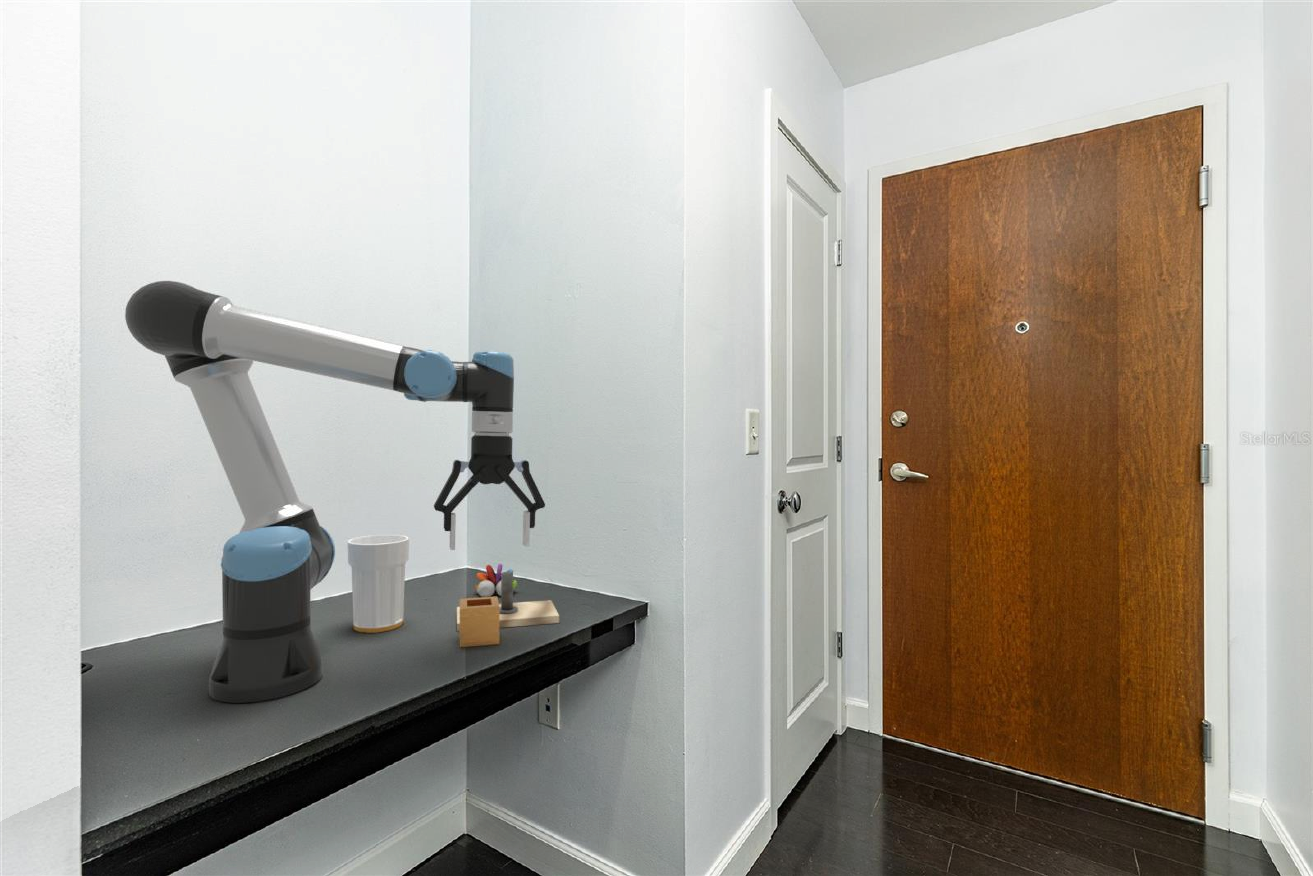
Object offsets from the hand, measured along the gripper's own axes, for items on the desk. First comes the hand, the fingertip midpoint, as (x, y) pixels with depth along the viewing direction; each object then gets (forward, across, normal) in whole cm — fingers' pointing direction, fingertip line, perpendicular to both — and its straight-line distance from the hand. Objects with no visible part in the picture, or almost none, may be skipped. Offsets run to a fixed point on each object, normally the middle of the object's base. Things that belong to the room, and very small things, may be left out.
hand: (489, 547), depth 121 cm
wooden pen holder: (+17, -2, 0) cm, 17 cm away
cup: (+18, -19, +16) cm, 31 cm away
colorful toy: (+18, +6, +32) cm, 37 cm away
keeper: (+17, +5, +11) cm, 21 cm away
